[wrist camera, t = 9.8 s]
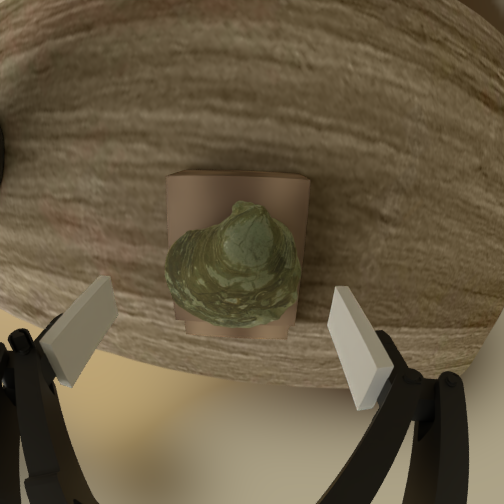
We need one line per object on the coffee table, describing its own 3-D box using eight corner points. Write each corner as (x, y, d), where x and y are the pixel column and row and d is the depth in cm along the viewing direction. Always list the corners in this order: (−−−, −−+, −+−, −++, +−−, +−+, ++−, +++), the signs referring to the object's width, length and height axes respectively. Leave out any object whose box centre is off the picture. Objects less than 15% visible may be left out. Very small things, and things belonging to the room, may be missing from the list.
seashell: (161, 322, 23) (152, 302, 14) (170, 244, 25) (170, 184, 16) (273, 330, 25) (328, 314, 16) (274, 256, 28) (320, 208, 19)
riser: (191, 318, 32) (180, 351, 26) (185, 170, 26) (166, 175, 20) (284, 323, 32) (289, 357, 26) (299, 173, 26) (310, 180, 20)
